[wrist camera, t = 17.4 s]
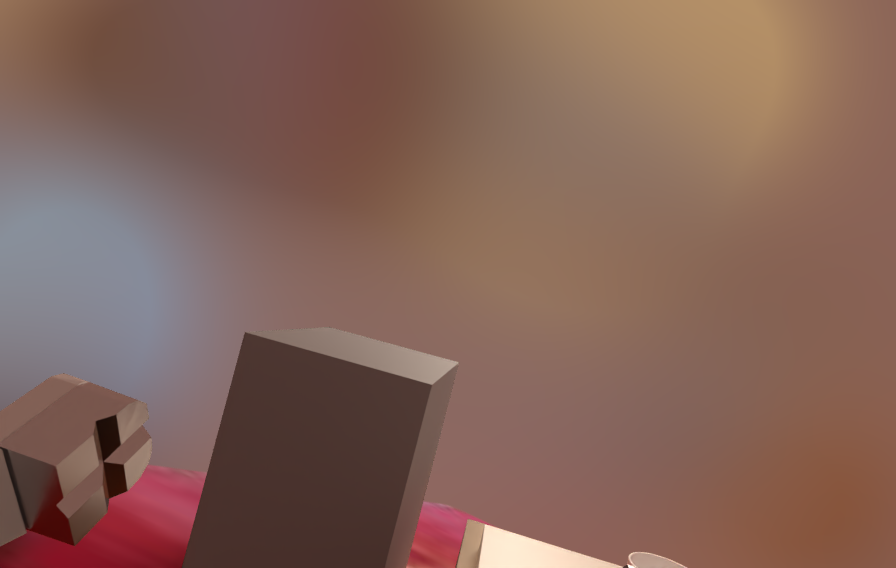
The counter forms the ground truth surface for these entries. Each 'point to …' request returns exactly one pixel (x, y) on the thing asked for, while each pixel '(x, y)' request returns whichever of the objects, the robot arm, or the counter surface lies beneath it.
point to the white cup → (651, 561)
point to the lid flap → (528, 553)
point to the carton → (321, 453)
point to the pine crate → (472, 545)
